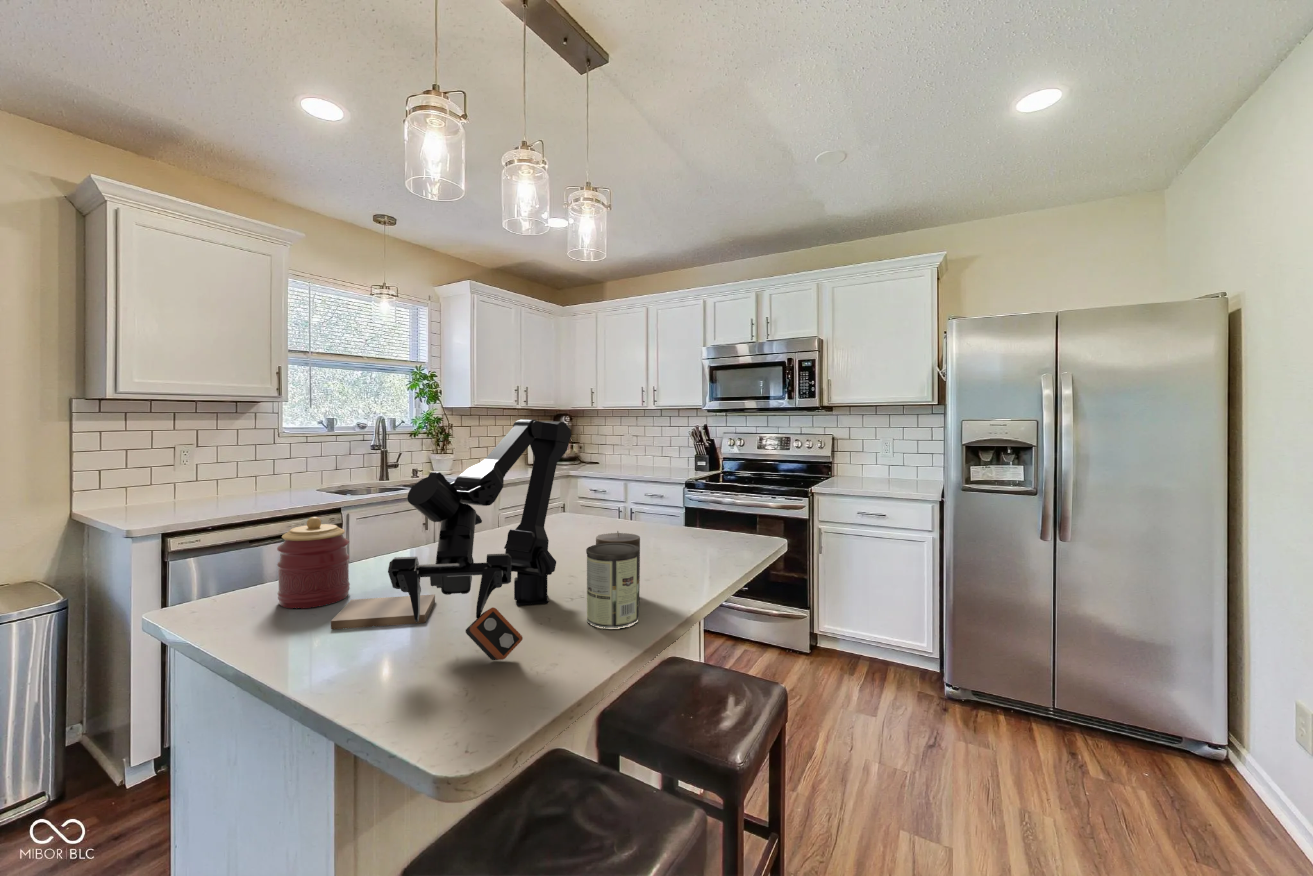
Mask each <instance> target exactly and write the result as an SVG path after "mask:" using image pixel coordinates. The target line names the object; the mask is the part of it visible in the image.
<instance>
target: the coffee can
mask: <svg viewBox="0 0 1313 876" xmlns="http://www.w3.org/2000/svg"><path fill="white" fill-rule="evenodd" d="M585 552H586V553H585V554H586V623H587V622H589V623H590V624H592V625H594V626H599V627H603V628H604V627H605V628H618V627H623V626H628V625H629V624H632V623H634V622H636V621H637V620H638V617H639V614H640V613H639V612H640V611H639V610H640V609H639V607H640V605H639V603H640V602H639V601H640V588H639V552H640V553H641V547H640V548H639V547H637V546H635V545H632V544H626V543H603V544H596V543H595V544H593V545H590V546H588V547H587V548H586V549H585ZM639 618H640V617H639Z"/></svg>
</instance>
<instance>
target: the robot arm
mask: <svg viewBox="0 0 1313 876" xmlns="http://www.w3.org/2000/svg"><path fill="white" fill-rule="evenodd" d="M571 438H572V431H571V429H570V427H569V426H568V424H567V423H566V422H564V421H552V420H551V421H545V420H544V421H543V420H542V421H541V420H540V421H539V420H537V419H524V418H523V419H518V420H516V421H514V423H513V425H512V428H511V429H510V430H509V431H508V433H507V434H505V436H504V437H503V438H502V439H501V440H500V441H499V443H498V444H497V445H496V446H495V447H494V448H493V450H491V451H490V453H489V454H488V455H487V456H486V457H485V458H484V459H483V460H481V461H480V462H479V463H476V464H474V465H472V466H469V467H468V468H467V469H465V470H464V471H463V472H462V473H461V474H459V475H458V476H457V477H456V478H455V480H454V481H451V482H449V481H448V480H447V479H446V477H445V476H444V474H442V473H441V472H437V471H431V472H430V473H429V474H428V476H426V477H424V478H422V479H420V480H419V481H418V482H416V483H415V484H414V485H412V486H411V488H410V489H409V491H408V492H407V493H408V494H407V502H408V504H410V505H411V506H412V507H414V508H415V510H417V511H418V512H420V513H421V514H422V515H423V516H424V517H426V518H427V519H428V520H429V521H431V522H433V523H439V522H440V528H439V533H438V535H439V536H438V543H437V550H436V557H435V563H433V564H432V563H431V564H428V563H427V564H420V563H419V558H418V556H400V557H399V556H396V557H394V558H392V560H390V561H389V565H388V568H387V573H388V576H389V580H390V584H391V585H392V588H393V589H395V590H400V591H401V592H403V593H407V594H408V596H410V598H411V603H412V608H413V613H414V618H415V622H418V621H419V615H420V595H421V593H422V587H421V578H429V580H430V581H429V582H430V587H436V589H441V593H442V594H444V595H445V596H447V595H450V596H451V595H452V594H453V595H455V594H461V595H465V594H469V593H470V591H471V588H472V580H473V576H481V578H480V584H479V591H478V596H477V601H476V609H475V611H476V613H475V618H476V619H477V618H479V617H480V615H481V614H482V613H483V610H484V609H485V606H486V604H487V601H488V599H489V597H490V595H492V593H493V591H495V589H497V588H498V589H499V588H502V586H503V585H509V584H510V583H512V572H513V573H514V572H515V573H517V574H516V576H517V577H516V576H515V577H514V580H513V590H514V591H513V592H514V593H513V594H514V595H513V596H514V597H513V598H514V600H515V601H516V602H515V603H516V606H525V605H528V606H529V605H540V604H541V605H545V604H548V603H549V597H548V576H549V575H550V576H551V575H552V574H553V573H554V572H555V571H556V566H557V560H556V559H555V558H554V557H553V555H552V554H551V552H549V538H548V535H547V532H546V528H545V524H546V519H547V514H548V509H549V504H550V499H551V495H552V489H553V485H554V481H555V480H554V479H555V475H556V469H557V466H558V465H557V464H558V462H559V461H560V460H561V459H562V457H563V456H564V455H565V454H566V453H567V450H568V448H569V444H570V441H571ZM528 447H530V449H531V452H532V454H533V457H534V460H533V465H532V468H531V473H530V477H529V478H530V479H529V483H528V487H527V492H526V496H525V500H524V506H523V511H522V514H521V515H522V516H521V520H520V523H519V524H518V525H517V527H516V528H515V529H512V528H511V529H508V530H509V531H508V533H507V538H506V543H505V544H504V547H503V549H505V552H504V553H488V554H486V562H475V561H474V558H473V553H474V542H475V541H474V540H475V530H476V529H475V528H476V525H479V524H482V523H483V520H482V518H481V516H480V515H479V514H478V513H477V511H476V509H475V508H474V507H472V506H471V505H473V506H482V507H487V506H491V505H492V504H494V503H495V502H496V500H497V499H498V497H499V496H500V493H501V491H502V490H503V488H504V478H505V477H506V475H507V473H508V472H509V471H510V470H511V468H513V466H514V465H515V464H516V462H517V461H518V460H519V459H520V458H521V456H522V455H523V454H524V452H525V451H526V450H527V449H528Z"/></svg>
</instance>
